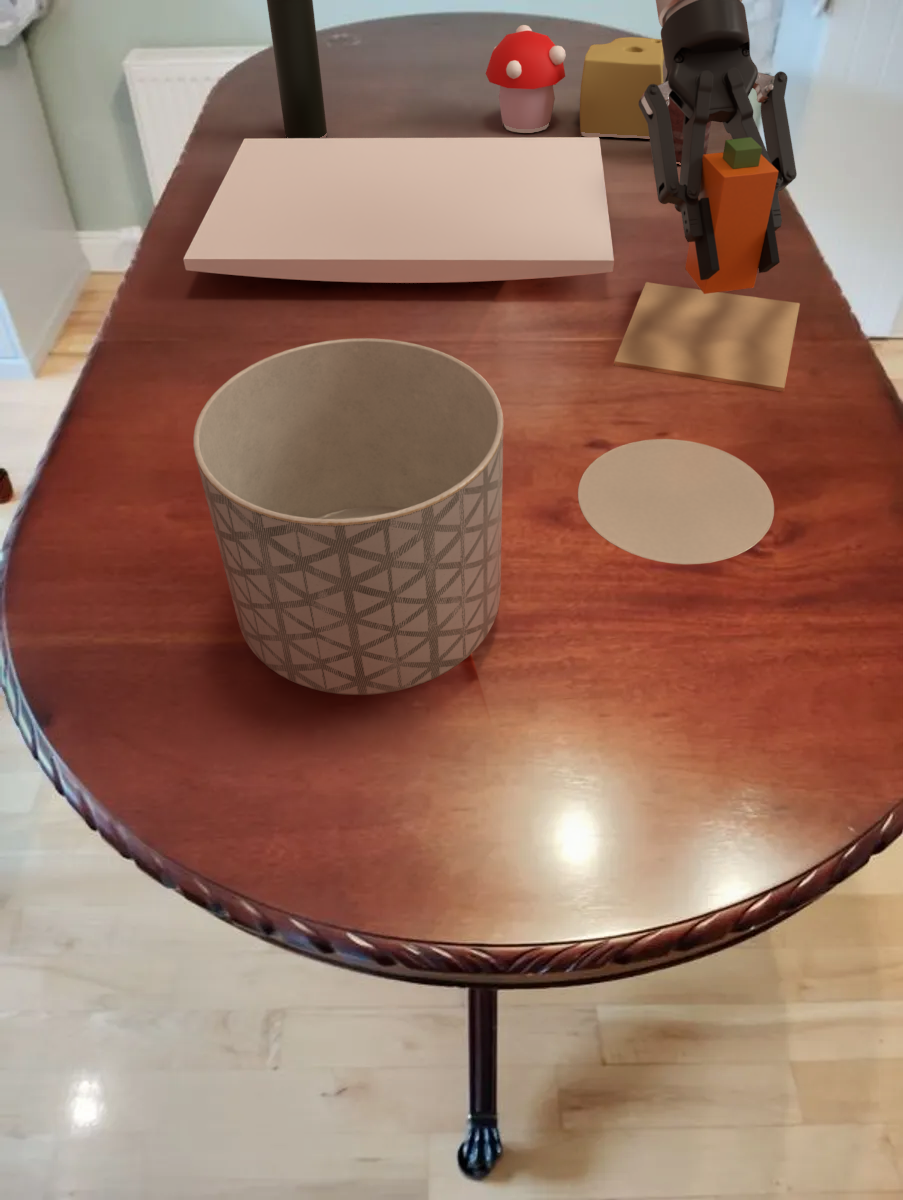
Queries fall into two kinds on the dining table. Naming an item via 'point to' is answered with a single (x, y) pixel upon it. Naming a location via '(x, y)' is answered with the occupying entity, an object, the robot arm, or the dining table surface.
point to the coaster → (710, 336)
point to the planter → (357, 510)
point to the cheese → (619, 85)
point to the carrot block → (735, 213)
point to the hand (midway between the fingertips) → (739, 270)
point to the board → (408, 210)
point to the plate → (675, 501)
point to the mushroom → (526, 77)
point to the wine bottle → (297, 67)
